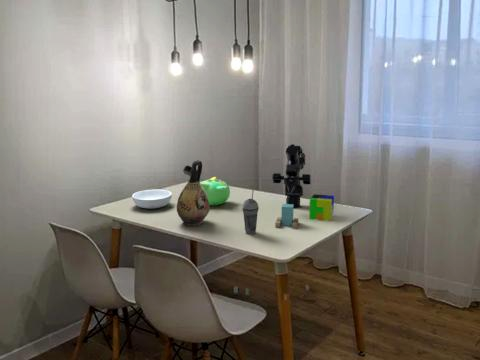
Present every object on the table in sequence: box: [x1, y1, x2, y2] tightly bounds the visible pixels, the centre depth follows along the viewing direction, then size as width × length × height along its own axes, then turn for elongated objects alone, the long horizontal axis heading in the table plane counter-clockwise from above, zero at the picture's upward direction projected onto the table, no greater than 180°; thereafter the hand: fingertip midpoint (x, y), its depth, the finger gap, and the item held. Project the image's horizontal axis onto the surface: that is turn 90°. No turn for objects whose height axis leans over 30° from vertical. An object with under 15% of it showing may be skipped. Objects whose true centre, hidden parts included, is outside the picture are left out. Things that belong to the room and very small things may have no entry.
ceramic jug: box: [176, 159, 210, 227], centre depth 226 cm, size 17×15×30 cm
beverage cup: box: [241, 188, 260, 236], centre depth 212 cm, size 7×7×20 cm
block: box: [281, 203, 294, 227], centre depth 225 cm, size 5×5×9 cm
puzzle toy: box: [309, 193, 335, 221], centre depth 235 cm, size 10×10×10 cm
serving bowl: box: [131, 189, 173, 210], centre depth 257 cm, size 21×21×7 cm
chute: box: [275, 216, 299, 229], centre depth 224 cm, size 9×10×2 cm
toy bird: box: [200, 176, 231, 206], centre depth 258 cm, size 18×17×15 cm
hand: (290, 193), depth 234 cm, fingers closed
